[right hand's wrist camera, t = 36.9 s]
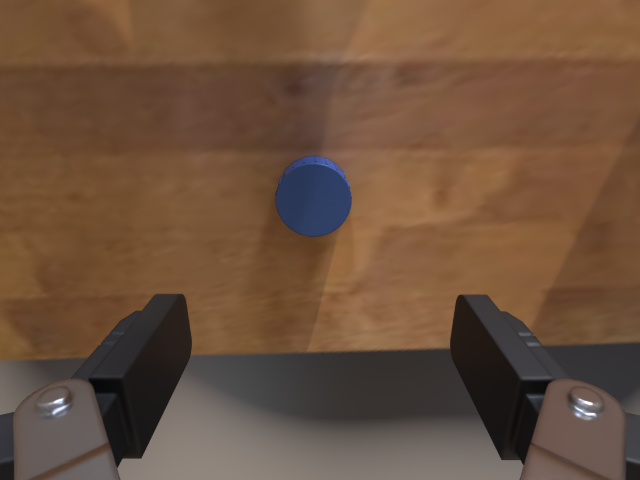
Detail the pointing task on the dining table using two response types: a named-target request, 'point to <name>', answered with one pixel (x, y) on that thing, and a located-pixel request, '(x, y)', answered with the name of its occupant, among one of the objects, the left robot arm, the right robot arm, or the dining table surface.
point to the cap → (313, 196)
